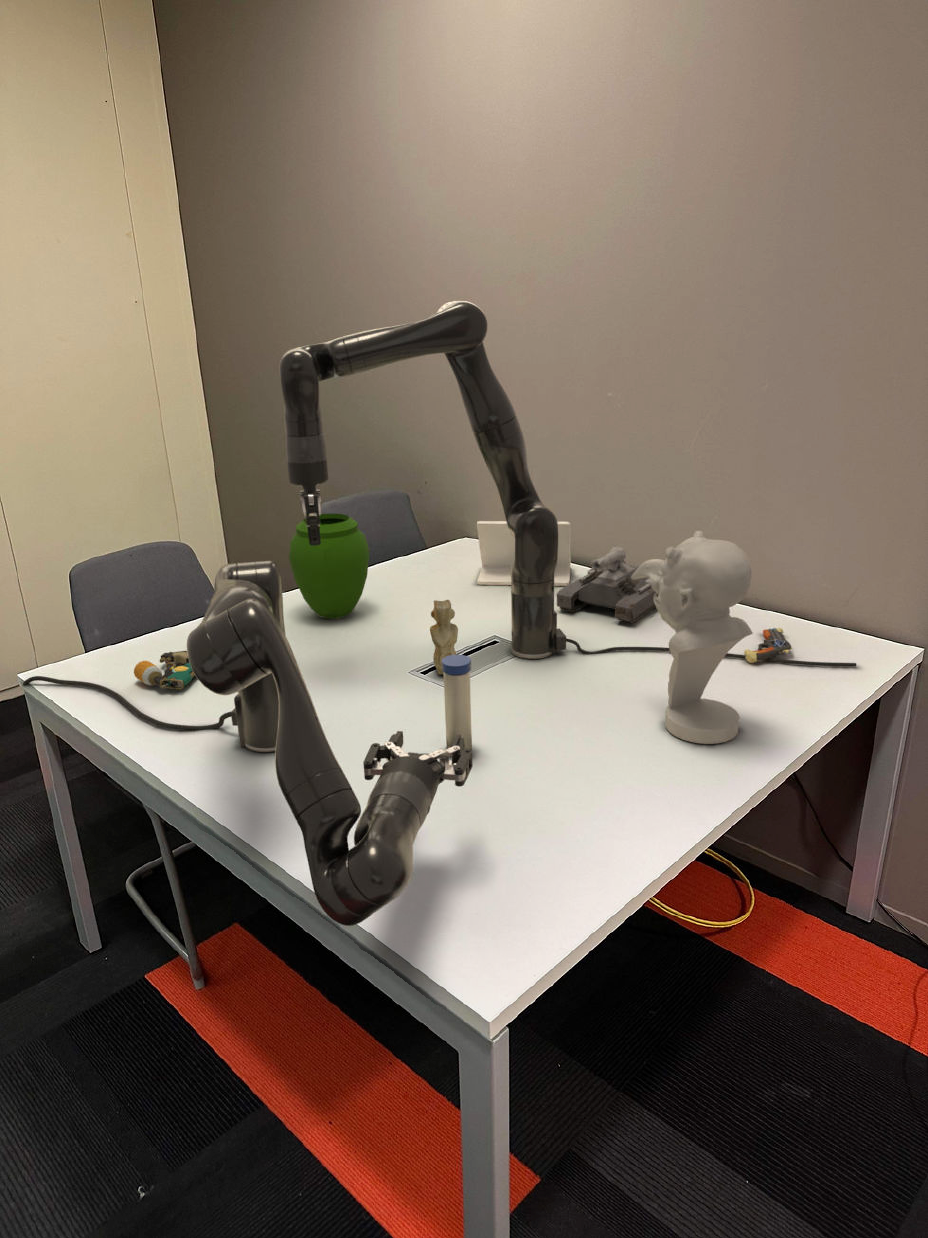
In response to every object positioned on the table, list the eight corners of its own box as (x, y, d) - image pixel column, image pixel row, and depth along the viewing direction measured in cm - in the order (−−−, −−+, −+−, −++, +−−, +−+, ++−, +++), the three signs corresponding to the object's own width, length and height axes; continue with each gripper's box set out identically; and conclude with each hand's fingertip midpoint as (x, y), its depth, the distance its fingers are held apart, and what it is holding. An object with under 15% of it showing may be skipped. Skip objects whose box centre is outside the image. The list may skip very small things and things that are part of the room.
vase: (389, 608, 216) (383, 514, 208) (339, 633, 201) (330, 533, 192) (330, 596, 226) (322, 506, 218) (278, 619, 211) (267, 523, 202)
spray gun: (177, 659, 191) (231, 671, 185) (120, 684, 176) (176, 698, 171) (176, 641, 190) (230, 653, 184) (118, 665, 175) (174, 678, 169)
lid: (437, 673, 140) (436, 664, 140) (448, 661, 145) (448, 653, 144) (464, 676, 139) (464, 667, 138) (475, 665, 143) (475, 656, 142)
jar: (442, 756, 146) (439, 666, 140) (452, 744, 150) (449, 656, 144) (466, 760, 145) (463, 669, 139) (475, 748, 148) (473, 659, 142)
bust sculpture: (671, 682, 170) (682, 511, 158) (763, 732, 151) (784, 540, 138) (606, 701, 164) (613, 523, 151) (694, 755, 144) (709, 555, 131)
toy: (603, 584, 229) (605, 530, 224) (673, 597, 218) (677, 540, 213) (555, 612, 210) (556, 553, 205) (630, 627, 199) (633, 566, 194)
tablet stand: (569, 585, 229) (570, 524, 223) (476, 584, 232) (475, 523, 226) (570, 566, 246) (571, 508, 240) (484, 564, 249) (483, 507, 243)
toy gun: (746, 653, 177) (797, 650, 175) (736, 627, 195) (782, 623, 193) (747, 666, 178) (798, 663, 176) (736, 638, 195) (782, 635, 193)
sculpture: (458, 662, 183) (456, 596, 178) (460, 676, 176) (457, 608, 171) (431, 663, 183) (428, 597, 177) (431, 677, 176) (428, 609, 171)
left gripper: (455, 776, 105) (477, 717, 120) (345, 769, 108) (379, 712, 123) (457, 828, 108) (479, 764, 123) (349, 820, 110) (383, 758, 125)
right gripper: (328, 462, 158) (335, 547, 164) (324, 450, 171) (331, 529, 177) (287, 465, 157) (295, 550, 162) (286, 452, 170) (294, 532, 176)
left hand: (429, 738), depth 123 cm, fingers open, 8 cm apart
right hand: (314, 539), depth 170 cm, fingers open, 8 cm apart
